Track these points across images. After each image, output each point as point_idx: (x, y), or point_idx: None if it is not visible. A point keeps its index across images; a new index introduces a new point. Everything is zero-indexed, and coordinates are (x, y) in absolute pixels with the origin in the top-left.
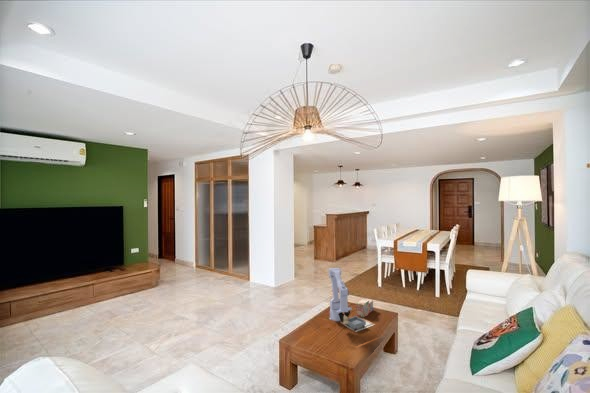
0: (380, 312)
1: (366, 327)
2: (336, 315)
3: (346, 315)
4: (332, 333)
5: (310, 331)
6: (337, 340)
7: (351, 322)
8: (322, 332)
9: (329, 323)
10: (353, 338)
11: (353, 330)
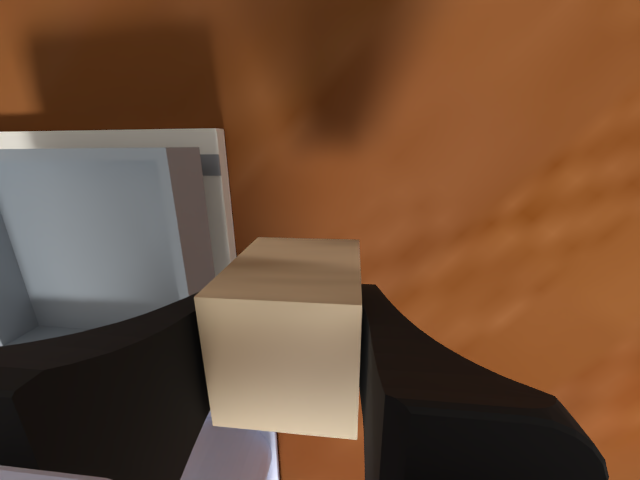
0: None
1: (25, 140)
2: None
3: (184, 370)
4: (468, 289)
5: (626, 449)
6: (566, 119)
7: (144, 290)
8: (542, 367)
9: (332, 443)
10: (341, 31)
11: (219, 174)
